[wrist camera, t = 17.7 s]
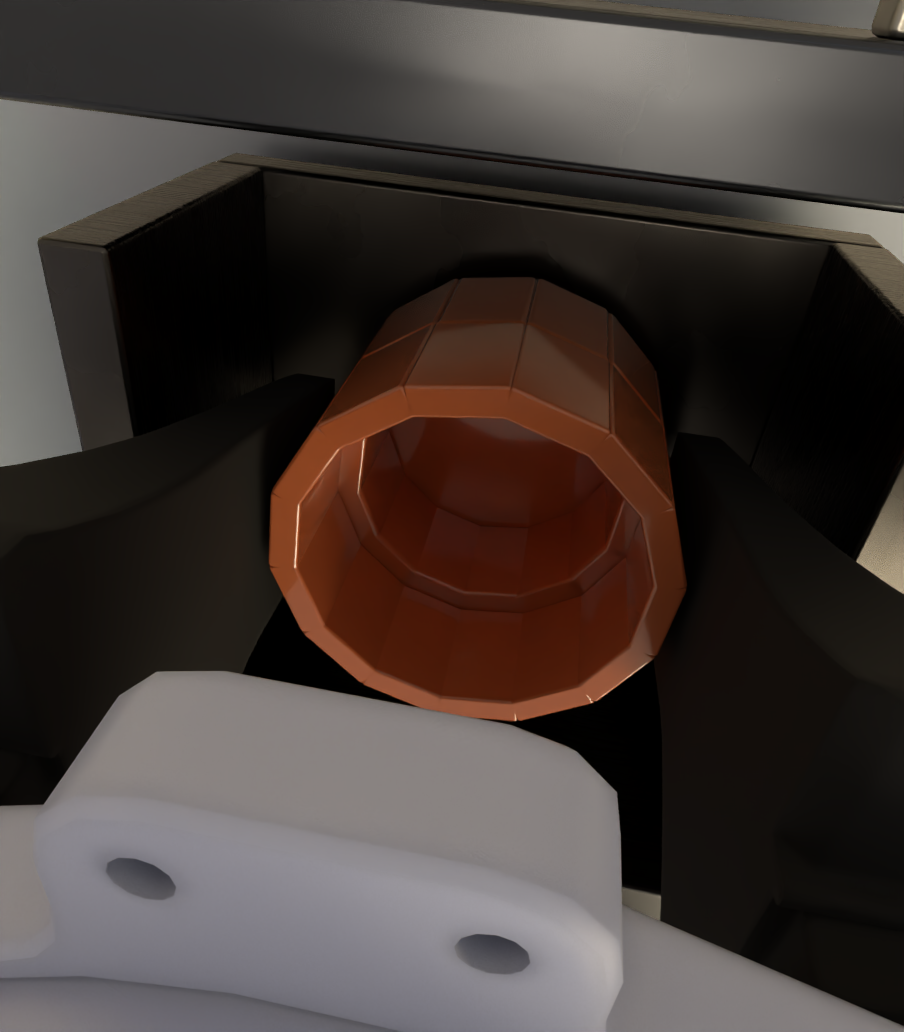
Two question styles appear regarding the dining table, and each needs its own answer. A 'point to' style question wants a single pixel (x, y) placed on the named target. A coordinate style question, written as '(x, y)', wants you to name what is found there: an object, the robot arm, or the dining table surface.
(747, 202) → the dining table surface
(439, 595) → the orange cup
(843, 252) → the drawer
